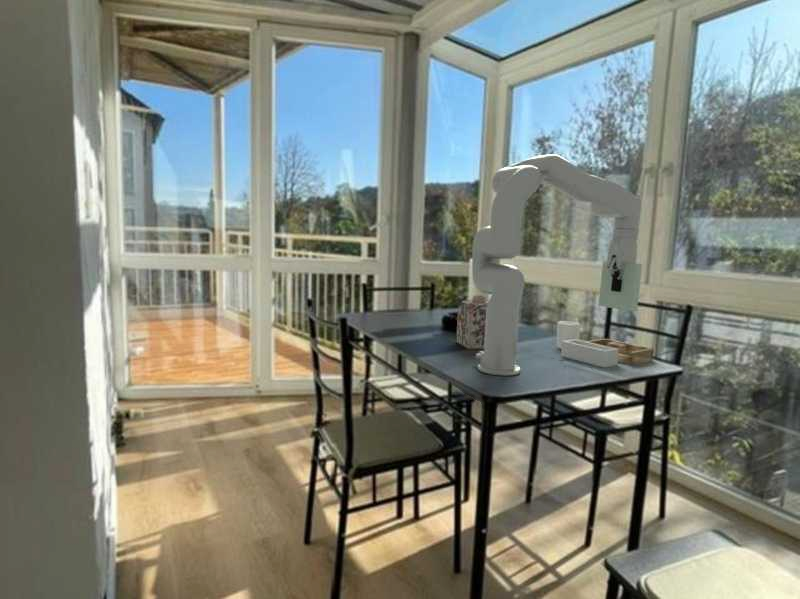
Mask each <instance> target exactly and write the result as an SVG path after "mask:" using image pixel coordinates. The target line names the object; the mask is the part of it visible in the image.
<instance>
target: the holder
mask: <svg viewBox="0 0 800 599" xmlns="http://www.w3.org/2000/svg"><path fill="white" fill-rule="evenodd" d="M586 341H587V340H581V339H578V340H577V339H573V340H566V341H562V349H561V354H560V355H561V357H563V358H567V359H571V360H574V361H579V362H582V363H585V364H586V363H587V364H590V365H594V366H598V367H601V368H608V367H613V366H618V363H619V362H618V352H619V349H617V348H612V347H608V346H603V345H599V344H595V343H590V342H586Z"/></svg>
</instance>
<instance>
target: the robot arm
mask: <svg viewBox="0 0 800 599" xmlns="http://www.w3.org/2000/svg"><path fill="white" fill-rule="evenodd" d="M491 182H492V184H491V186H492V189H493V191H494V193H496V195H495V196H494V199H493V201H492V203H491V204H492V205H491V209H490V220H489V222H490V223H489V225H488V226H484V227H482V228H480V229H479V230H478V231H477V232H476V234H475V235H474V238H473V241H472V250H471V252H472V257H471V258H472V261H471V262H472V263H471V264H472V271H471V272H472V280H473V282H472V283H473V285H474V286H475V288H476V289H477V290H479V291H480V292H482V293H485V294H488V295H490V298H489V300H488V301H489V302H488V305H487V309H486V323H485V340H484V349H483V350H479V351H478V353H476V354H475V358H477V359H480V362H479V363H477V370H478V371H480V372H481V373H485V374H488V375H494V376H503V377H505V376H515V375H518V374H520V373H521V367H520V366H519V365H517V364H516V361H517V346H518V336H519V334H518V332H519V318H520V307H521V300H522V296H523V293H524V289H525V284H526V282H525V277H524V274H523V272H522V270H520V269H519V268H518V267H516V266H514V265H512V264H507V263H506V264H505V263H500V262H501V261H500V260H507V261H508V260H512V259H515V258H516V257H517V256H518V254H519V253H520V248H521V221H522V220H521V218H522V210H523V206H524V205H525V203H526V202H527V200H528V199H529V198H530V197H531V195H533V194H534V193H535V192H536V191H537V190H538V189H539V187H540V185H548V186H550V187H552V188H553V189H556V190H557V191H558V192H560V193H562V194H563V195H565V196H566V197H568V198H570V199H572V200H576V201H579V202H585V203H591V204H590V208H591V211H592V213H593V214H594V215H595V216H597V217H599V218H603V219H604V218H606V219H607V218H609V219H612V218H614V220H613V230H612V231H613V232H612V238H611V241H610V243H609V248H608V253H607V257H606V261H607V265H606V266H607V268H608V271H609V272H610V273H611V275H612V276H611V278H612V285H611V291H616V292H621V285H622V280H620V279H621V275H622V270H624V269H625V266H626V263H634V264H637V254H638V252H637V251H638V246H637V244H638V243H637V242H638V241H637V240H638V237H639V229H640V220H641V211H642V198H641V197H640V196H636V195H634V194H633V193H632V192H631V191H630V190H628V189H627V188H625V187H623V186H622V185H620V184H618V183H615V182H614V181H610V180H609V179H608V180H607V179H605V178H602V177H599V176H596V175H593V174H590V173H588V172H586V171H584V170H582V169H581V168H579V167H578V166H576V165H575V164H573V163H572V162H570V161H569V160H567V159H566V158H564V157H562V156H560V155H558V154H555V153H553V154H543V155H538V156H533V157H530V158H527V159H524V160H522V161H519V162H517V163H514V164H512V165H511V164H510V165H508V166H506V167H503V168H501V169H499V170H497V171H496V173H494V176H493V177H492V180H491ZM616 267H617V268H618V269H616ZM617 271H619V272H617Z"/></svg>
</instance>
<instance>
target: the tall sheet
mask: <svg viewBox="0 0 800 599" xmlns="http://www.w3.org/2000/svg"><path fill="white" fill-rule="evenodd" d="M606 265H607V260H603V261H602V268H601V269H602V270H601V278H600V285H599V287H600V289H599V298H598V307H605V308H611V309H617V310H623V311H629V312H637V311H638V304H639V298H640V297H639V295H640V287H641V278H642V272H643V271H642V270H643V263H636V264H634V263H626V266H625V269H624V270H622V275H621V279H620V280H622V285H621V292H616V291H611V285H612V278H611V276H612V275H611V273H610V272H609V271H608V268H607V266H606ZM616 269H618V268H617V267H616ZM617 272H619V271H617Z"/></svg>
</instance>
